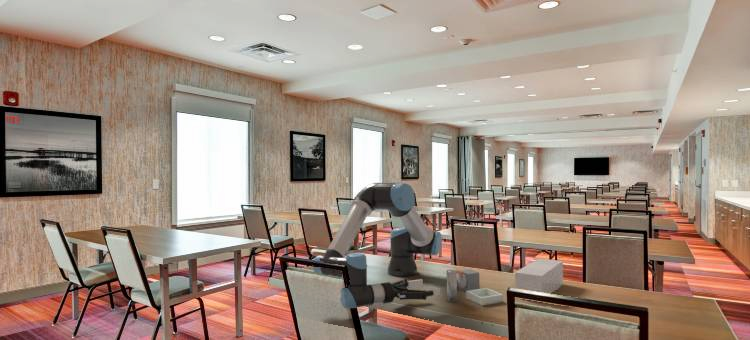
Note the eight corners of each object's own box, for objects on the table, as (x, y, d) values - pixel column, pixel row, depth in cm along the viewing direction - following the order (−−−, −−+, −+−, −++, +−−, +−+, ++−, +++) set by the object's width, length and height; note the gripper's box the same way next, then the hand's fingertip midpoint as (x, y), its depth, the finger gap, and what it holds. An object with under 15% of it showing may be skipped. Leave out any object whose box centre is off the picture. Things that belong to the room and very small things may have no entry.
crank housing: (454, 289, 192) (454, 269, 192) (470, 286, 195) (469, 267, 195) (463, 293, 185) (463, 272, 185) (479, 291, 188) (479, 270, 188)
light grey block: (538, 281, 203) (538, 258, 203) (563, 284, 197) (562, 261, 197) (515, 298, 178) (515, 272, 178) (542, 303, 172) (541, 275, 171)
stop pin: (445, 300, 176) (444, 270, 176) (453, 298, 178) (453, 269, 178) (450, 302, 173) (450, 272, 173) (459, 301, 174) (458, 271, 174)
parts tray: (466, 298, 178) (465, 291, 178) (486, 295, 182) (486, 288, 182) (481, 305, 169) (481, 298, 168) (503, 302, 172) (503, 294, 172)
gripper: (369, 294, 175) (416, 288, 183) (395, 313, 152) (447, 305, 160) (369, 276, 175) (415, 270, 183) (395, 292, 152) (447, 285, 160)
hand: (430, 286), depth 172 cm, fingers open, 13 cm apart
